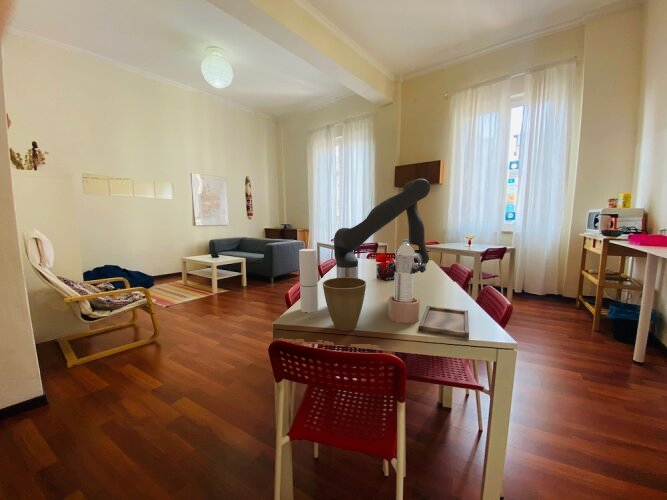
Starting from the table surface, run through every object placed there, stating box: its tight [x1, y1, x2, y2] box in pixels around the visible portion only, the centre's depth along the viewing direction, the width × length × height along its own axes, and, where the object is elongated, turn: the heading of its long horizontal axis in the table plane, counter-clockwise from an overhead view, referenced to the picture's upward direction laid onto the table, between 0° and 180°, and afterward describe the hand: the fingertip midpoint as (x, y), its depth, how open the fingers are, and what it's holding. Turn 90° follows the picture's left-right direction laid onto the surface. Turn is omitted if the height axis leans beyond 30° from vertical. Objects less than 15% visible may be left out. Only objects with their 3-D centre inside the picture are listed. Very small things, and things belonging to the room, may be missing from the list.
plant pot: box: [322, 277, 367, 332], centre depth 94 cm, size 15×15×16 cm
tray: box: [418, 305, 470, 340], centre depth 98 cm, size 15×22×2 cm
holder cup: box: [387, 295, 421, 324], centre depth 103 cm, size 11×11×7 cm
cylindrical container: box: [298, 248, 319, 314], centre depth 111 cm, size 7×7×25 cm
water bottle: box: [393, 238, 415, 303], centre depth 101 cm, size 7×7×25 cm
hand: (403, 270), depth 99 cm, fingers closed on water bottle, 7 cm apart
